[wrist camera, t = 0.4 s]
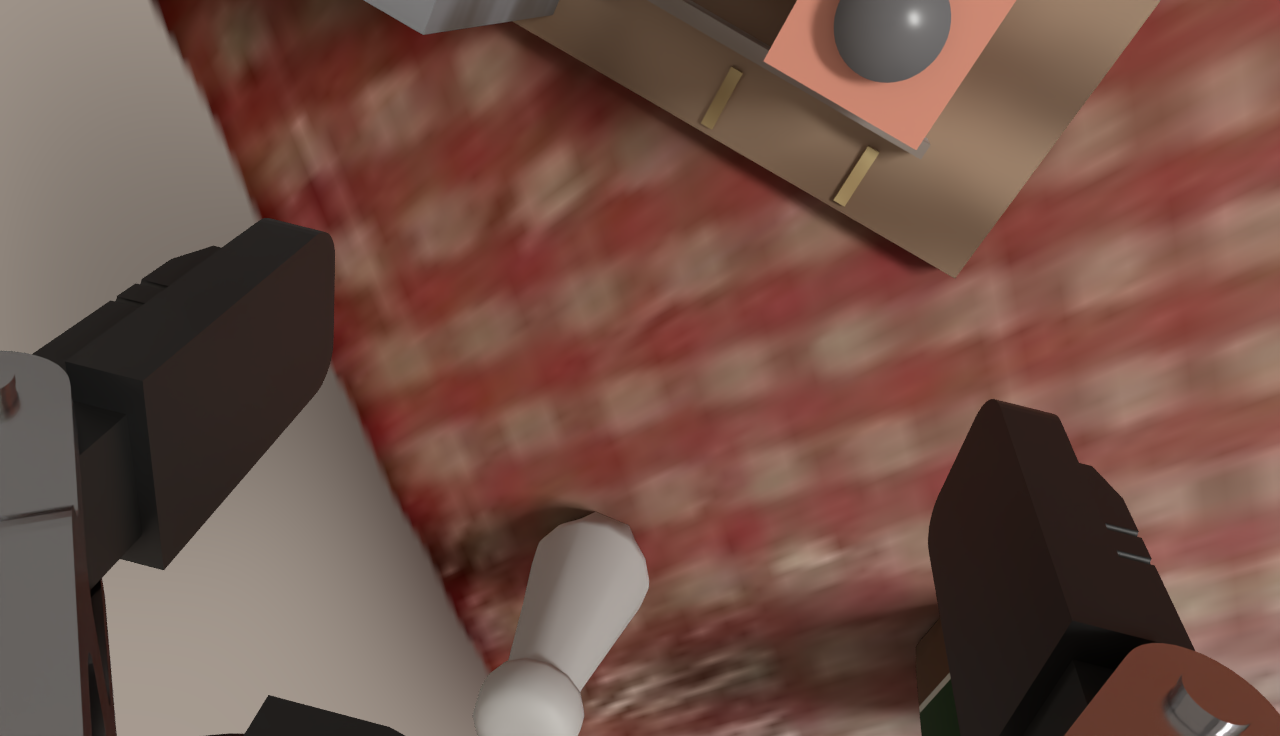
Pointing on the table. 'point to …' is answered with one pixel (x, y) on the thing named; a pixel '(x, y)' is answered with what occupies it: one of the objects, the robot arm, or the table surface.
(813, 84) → the plug
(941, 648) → the beer bottle
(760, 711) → the table surface
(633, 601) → the salt shaker
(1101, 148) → the table surface
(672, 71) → the stand
